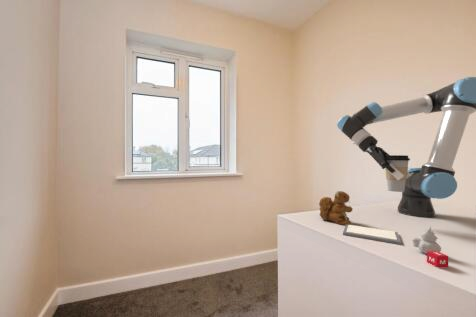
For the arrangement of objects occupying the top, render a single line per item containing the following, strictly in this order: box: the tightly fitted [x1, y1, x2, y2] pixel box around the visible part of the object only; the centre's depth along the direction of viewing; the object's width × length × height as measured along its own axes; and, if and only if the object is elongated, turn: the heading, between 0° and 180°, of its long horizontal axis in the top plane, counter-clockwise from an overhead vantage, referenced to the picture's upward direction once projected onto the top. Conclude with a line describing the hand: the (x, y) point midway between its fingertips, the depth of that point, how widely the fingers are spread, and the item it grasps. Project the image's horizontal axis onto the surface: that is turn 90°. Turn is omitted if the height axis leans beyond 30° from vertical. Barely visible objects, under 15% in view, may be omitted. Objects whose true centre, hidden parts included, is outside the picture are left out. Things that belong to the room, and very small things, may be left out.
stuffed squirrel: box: [318, 190, 353, 226], centre depth 100 cm, size 10×14×13 cm
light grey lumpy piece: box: [411, 226, 442, 255], centre depth 67 cm, size 5×7×8 cm
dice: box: [426, 251, 449, 268], centre depth 60 cm, size 3×3×3 cm
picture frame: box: [342, 224, 402, 246], centre depth 83 cm, size 17×12×1 cm
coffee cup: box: [384, 154, 411, 193], centre depth 97 cm, size 9×9×15 cm
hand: (405, 177), depth 95 cm, fingers closed on coffee cup, 9 cm apart
